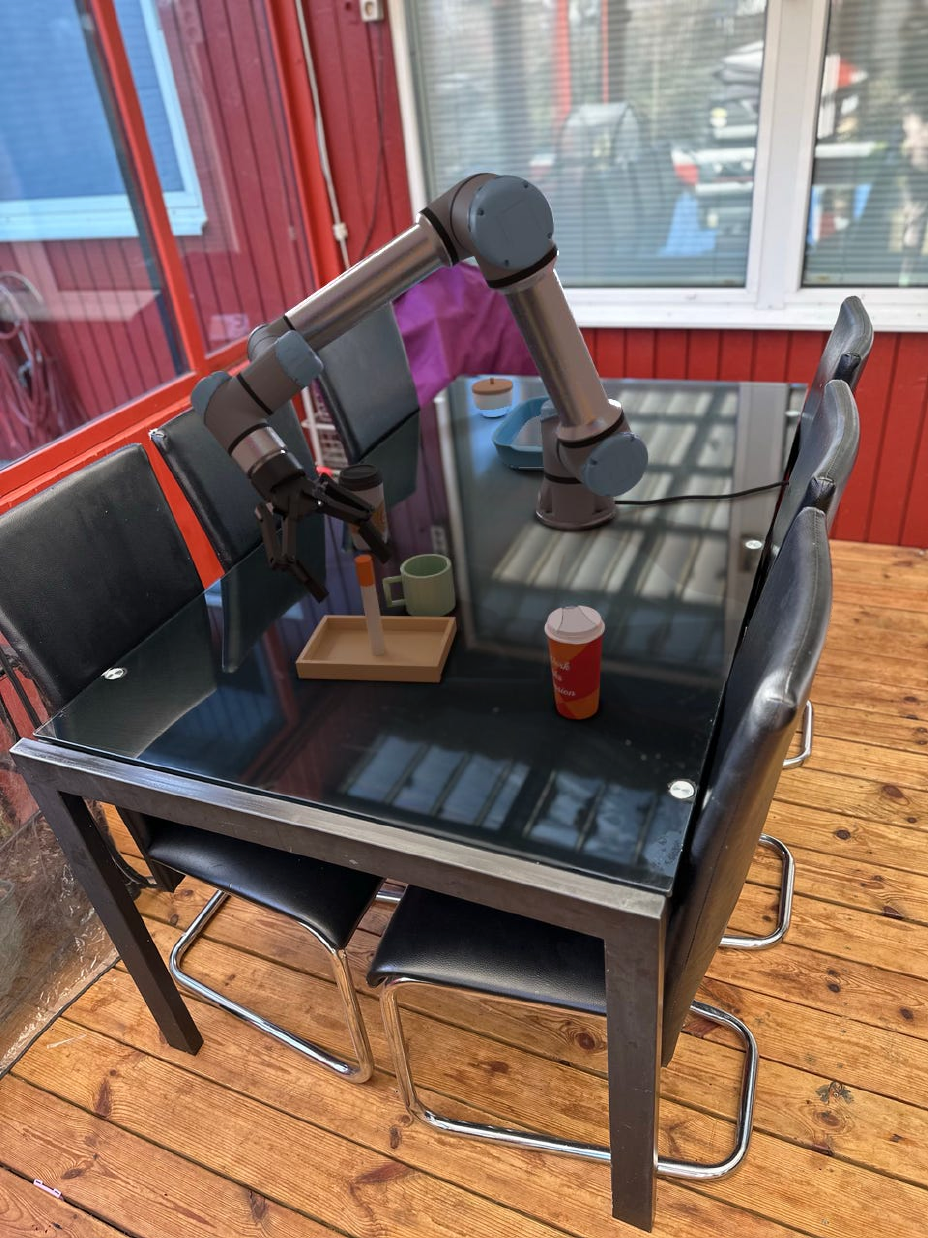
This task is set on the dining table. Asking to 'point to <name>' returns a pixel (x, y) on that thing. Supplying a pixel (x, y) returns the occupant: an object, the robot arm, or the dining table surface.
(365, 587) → the marker
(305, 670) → the tray
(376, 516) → the coffee cup
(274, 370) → the robot arm
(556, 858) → the dining table surface
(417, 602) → the mug
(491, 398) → the trinket box
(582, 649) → the paper cup
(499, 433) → the casserole dish
